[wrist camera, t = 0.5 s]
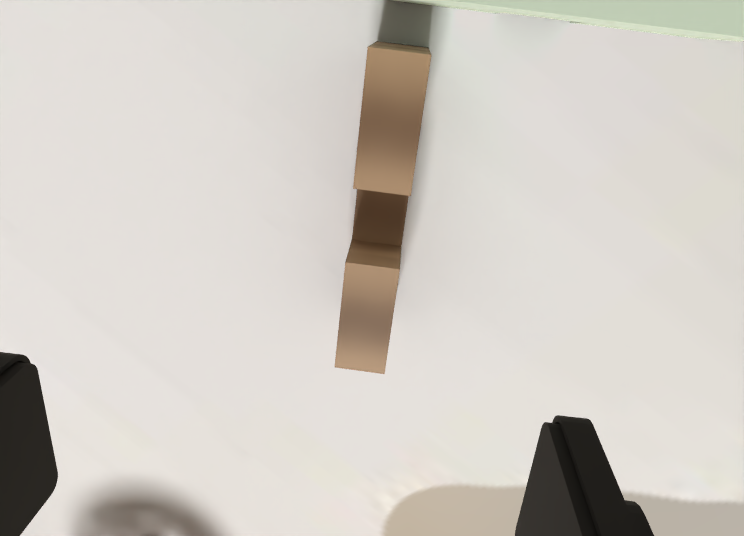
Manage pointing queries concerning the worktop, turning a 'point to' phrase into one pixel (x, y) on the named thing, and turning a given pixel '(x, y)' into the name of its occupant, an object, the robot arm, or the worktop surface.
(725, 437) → the worktop surface
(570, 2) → the green board
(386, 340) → the walnut board
